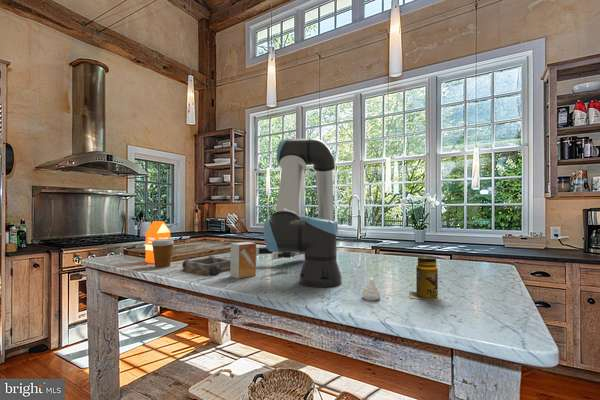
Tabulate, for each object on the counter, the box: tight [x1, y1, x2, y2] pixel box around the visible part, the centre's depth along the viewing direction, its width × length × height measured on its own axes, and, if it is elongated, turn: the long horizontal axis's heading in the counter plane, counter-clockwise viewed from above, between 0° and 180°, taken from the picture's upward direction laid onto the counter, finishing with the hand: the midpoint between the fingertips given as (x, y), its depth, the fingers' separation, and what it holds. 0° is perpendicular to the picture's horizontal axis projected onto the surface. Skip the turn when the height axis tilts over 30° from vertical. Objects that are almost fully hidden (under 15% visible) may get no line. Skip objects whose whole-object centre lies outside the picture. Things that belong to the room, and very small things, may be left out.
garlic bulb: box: [361, 277, 381, 301], centre depth 93 cm, size 6×6×5 cm
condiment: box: [408, 256, 441, 302], centre depth 94 cm, size 7×8×12 cm
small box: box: [229, 241, 257, 280], centre depth 121 cm, size 8×6×13 cm
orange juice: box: [144, 220, 171, 264], centre depth 153 cm, size 8×9×20 cm
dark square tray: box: [181, 255, 231, 277], centre depth 134 cm, size 20×19×4 cm
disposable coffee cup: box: [151, 238, 175, 269], centre depth 140 cm, size 10×10×12 cm
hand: (259, 255), depth 129 cm, fingers open, 13 cm apart
